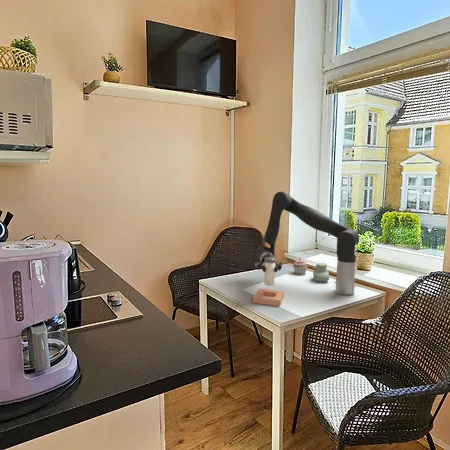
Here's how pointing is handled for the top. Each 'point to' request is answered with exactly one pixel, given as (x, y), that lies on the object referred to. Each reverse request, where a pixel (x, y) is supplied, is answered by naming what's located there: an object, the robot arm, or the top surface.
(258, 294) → the socket block
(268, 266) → the canister
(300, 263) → the cupcake
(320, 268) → the air freshener
